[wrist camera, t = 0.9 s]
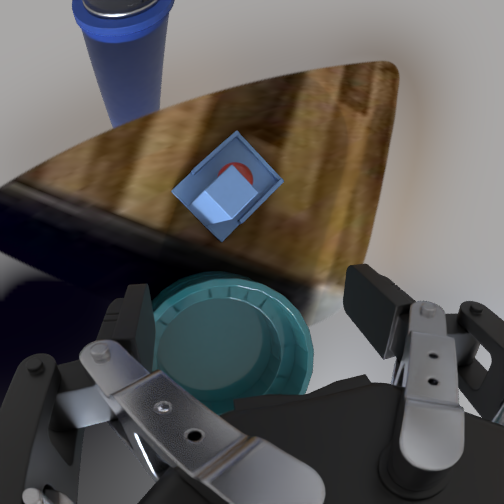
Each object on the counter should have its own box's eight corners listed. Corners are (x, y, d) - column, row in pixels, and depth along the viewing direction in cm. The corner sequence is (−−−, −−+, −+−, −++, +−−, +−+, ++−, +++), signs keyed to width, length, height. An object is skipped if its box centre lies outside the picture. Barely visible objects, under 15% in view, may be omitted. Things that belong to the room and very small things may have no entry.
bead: (210, 178, 30) (207, 180, 26) (236, 155, 29) (235, 154, 26) (234, 203, 30) (234, 208, 27) (259, 180, 30) (262, 182, 27)
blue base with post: (220, 242, 30) (255, 244, 20) (171, 191, 29) (179, 165, 18) (280, 182, 32) (338, 157, 21) (234, 133, 30) (273, 86, 20)
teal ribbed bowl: (104, 352, 27) (94, 377, 22) (212, 237, 30) (226, 236, 24) (218, 437, 31) (231, 469, 25) (314, 338, 34) (343, 355, 28)
